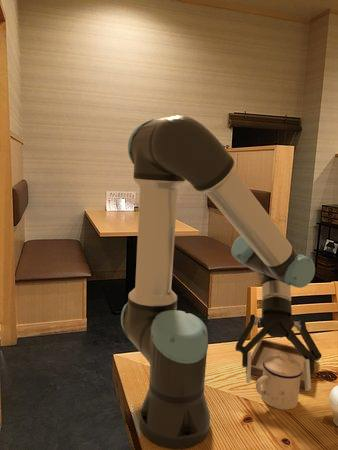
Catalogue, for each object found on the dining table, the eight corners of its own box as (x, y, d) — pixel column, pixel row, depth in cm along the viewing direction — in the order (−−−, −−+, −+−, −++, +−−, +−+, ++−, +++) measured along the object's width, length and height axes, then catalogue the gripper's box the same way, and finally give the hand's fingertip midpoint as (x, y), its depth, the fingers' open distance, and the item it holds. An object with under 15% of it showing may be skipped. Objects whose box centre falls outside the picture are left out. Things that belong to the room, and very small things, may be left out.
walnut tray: (245, 373, 102) (246, 365, 102) (259, 345, 118) (260, 338, 118) (308, 391, 96) (309, 382, 95) (313, 359, 112) (314, 351, 111)
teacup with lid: (279, 384, 98) (284, 342, 96) (306, 405, 90) (312, 360, 88) (242, 395, 93) (246, 351, 91) (268, 418, 85) (273, 371, 83)
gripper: (321, 312, 102) (329, 396, 90) (228, 302, 105) (223, 382, 93) (329, 300, 96) (338, 389, 84) (229, 290, 99) (224, 374, 87)
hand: (277, 385), depth 88 cm, fingers open, 13 cm apart
